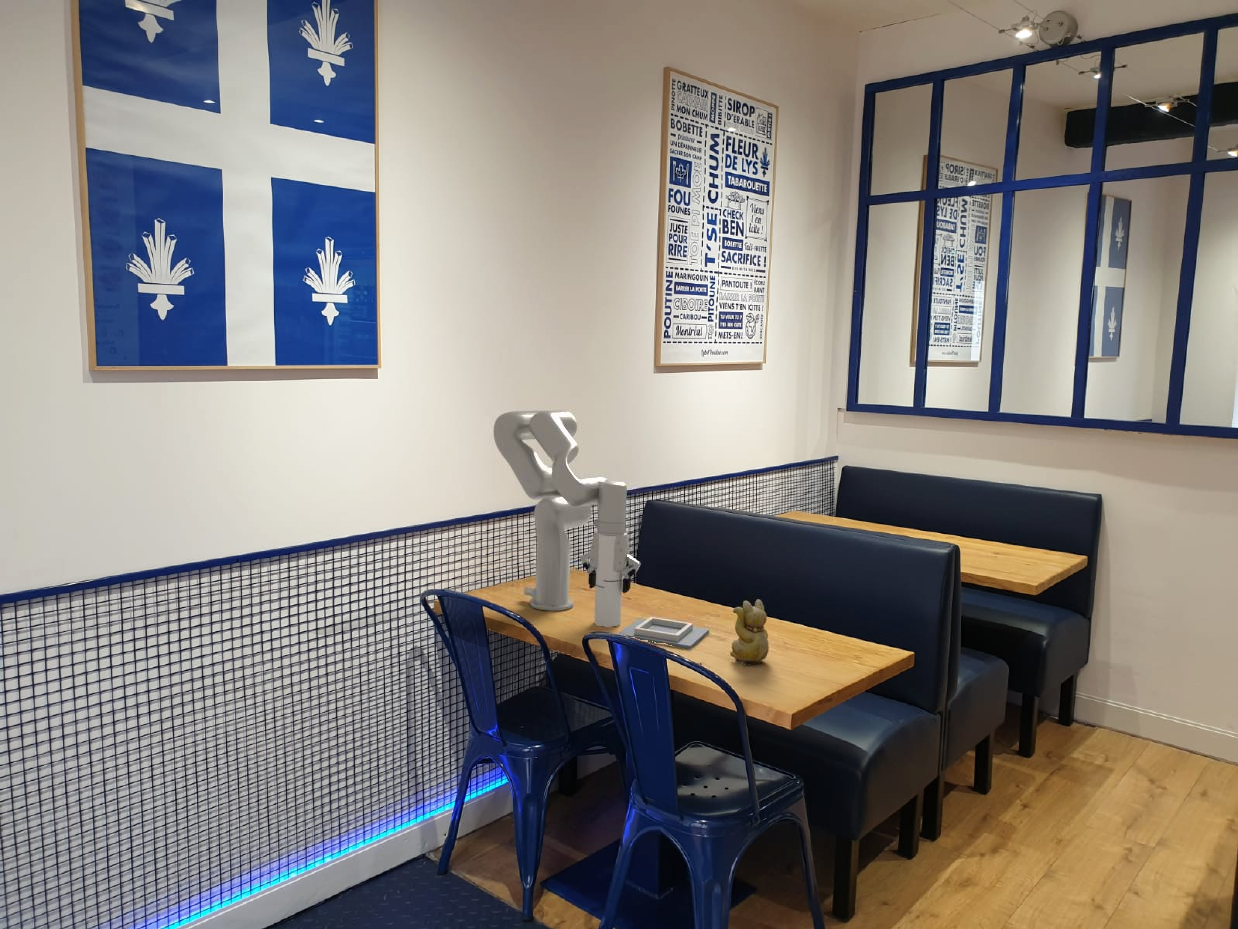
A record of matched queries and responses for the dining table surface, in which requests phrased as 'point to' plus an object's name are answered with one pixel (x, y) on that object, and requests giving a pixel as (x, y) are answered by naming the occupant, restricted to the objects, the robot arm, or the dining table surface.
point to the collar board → (666, 632)
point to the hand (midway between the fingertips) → (609, 589)
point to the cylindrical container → (607, 585)
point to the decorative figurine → (750, 634)
